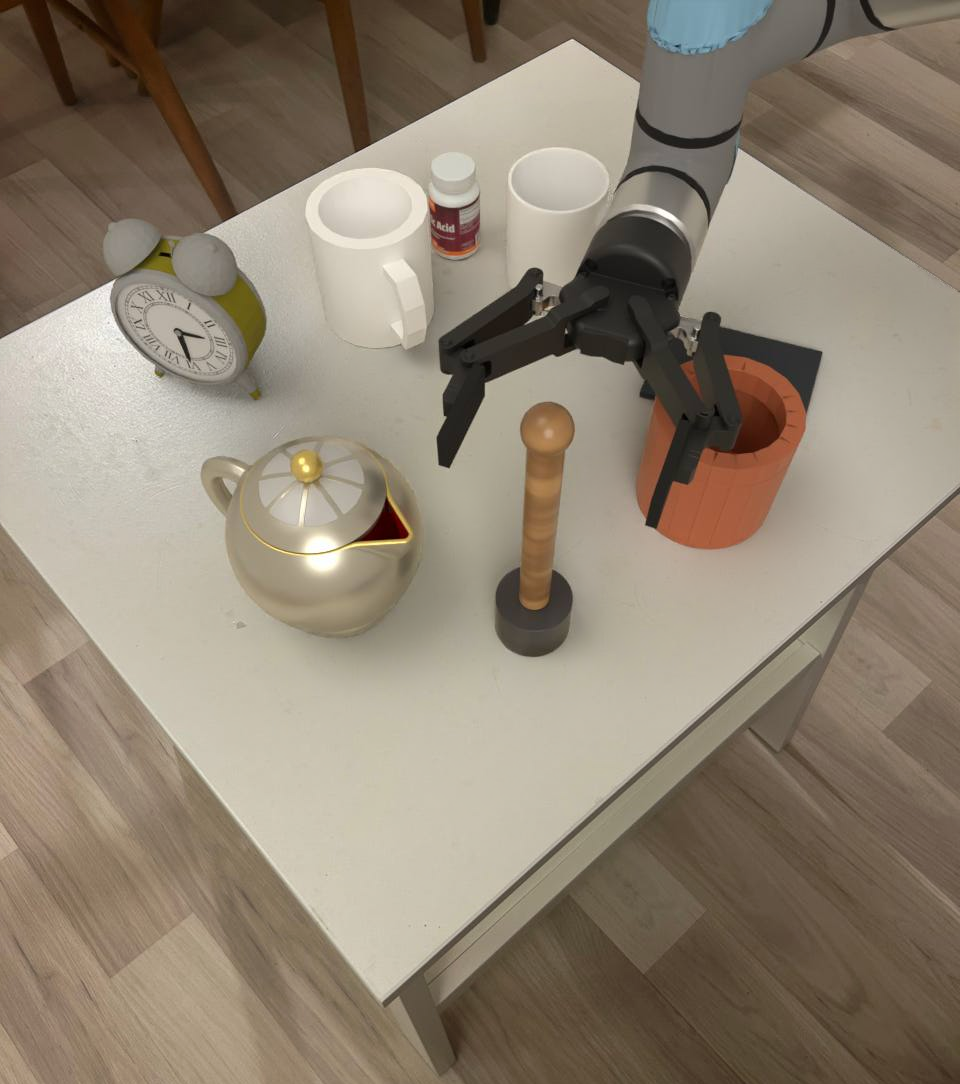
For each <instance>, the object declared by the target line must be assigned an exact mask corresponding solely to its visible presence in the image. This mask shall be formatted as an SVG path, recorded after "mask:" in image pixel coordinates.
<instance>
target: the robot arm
mask: <svg viewBox="0 0 960 1084" xmlns="http://www.w3.org/2000/svg"><path fill="white" fill-rule="evenodd" d="M959 19H960V0H649V2H648V4H647V13H646V23H647V25H646V34H645V42H644V51H643V60H642V65H641V66H642V67H641V73H640V74H641V75H640V82H639V89H638V99H637V102H636V108H635V111H634V118H633V126H632V134H631V141H630V147H629V153H628V157H627V161H626V164H625V168H624V169H623V172H622V174H621V176H620V179H619V181H618V184H617V186H616V188H615V190H614V192H613V194H612V196H611V199H610V200H609V203H607V209H606V211H605V213H604V215H603V217H602V219H601V221H600V223H599V225H598V227H597V229H596V232H595V235H594V237H593V238H592V240H591V243H590V245H589V247H588V249H587V251H586V253H585V255H584V258H583V260H582V262H581V264H580V266H579V268H578V271H577V273H576V275H575V277H574V279H573V280H572V281H571V282H569V283H567V284H566V285H564V286H563V287H561V286H558V285H555V284H552V283H549V282H546V281H543V275H544V274H543V271H542V270H541V269H539V268H530V269H528V270H527V271H526V273H525V274H524V276H523V277H522V279H521V280H520V282H519V283H518V284H517V286H516V287H514V288H513V289H510V290H508V291H507V292H505V293H504V294H502V295H501V296H499V297H498V298H496V299H495V300H494V301H492V302H491V303H489V304H488V305H486V306H485V307H483V308H481V309H480V310H479V311H477V312H475V313H474V314H473V315H471V316H469V317H468V318H467V319H465V320H463V321H462V322H461V323H459V324H458V325H457V326H455V327H454V328H452V329H451V330H449V331H448V332H445V334H442V336H440V338H438V340H437V343H438V356H439V357H438V358H439V370H440V372H441V373H442V374H444V375H446V376H450V375H451V377H450V379H449V381H448V384H447V385H446V387H445V389H444V391H443V393H442V412H443V417H445V420H444V421H443V423H442V425H441V427H440V429H439V431H438V433H437V435H436V449H437V452H436V453H437V462H438V463H437V464H438V466H439V467H443V468H447V469H450V468H451V467H452V464H453V463H454V460H455V458H456V456H457V454H458V452H459V450H460V448H461V446H462V444H463V441H464V440H465V438H466V436H467V434H468V431H469V430H470V428H471V426H472V423H473V421H474V419H475V418H476V415H477V414H478V411H479V409H480V407H481V405H482V403H483V401H484V399H485V397H486V384H487V383H490V382H491V381H494V380H497V379H498V378H500V377H503V376H506V375H508V374H510V373H512V372H515V371H517V370H519V369H522V368H524V367H526V366H527V367H528V366H529V365H531V364H534V363H536V362H538V361H540V360H543V359H545V358H547V357H549V356H552V355H553V356H554V357H555V358H559V357H562V356H564V355H566V354H569V353H571V352H573V351H576V350H579V354H580V355H584V356H587V357H594V358H603V359H604V360H605V359H606V360H608V361H609V362H611V363H614V364H618V365H622V366H624V365H625V364H626V363H631V362H632V364H633V366H634V368H635V369H636V371H637V372H638V374H639V376H640V378H641V379H642V380H643V381H644V380H648V382H649V384H650V385H651V387H652V389H653V390H654V392H655V394H656V395H657V397H658V399H659V401H660V402H661V404H662V406H663V407H664V409H665V411H666V412H667V414H668V416H669V417H670V419H671V421H672V422H673V424H674V426H675V427H676V431H675V434H674V436H673V439H672V442H671V445H670V448H669V450H668V453H667V456H666V459H665V462H664V465H663V467H662V470H661V473H660V476H659V479H658V482H657V484H656V487H655V490H654V493H653V496H652V499H651V502H650V506H649V510H648V514H647V518H645V523H644V526H646V527H648V528H652V529H654V530H656V529H657V526H658V523H659V520H660V518H661V515H662V512H663V509H664V506H665V503H666V500H667V497H668V494H669V491H670V488H671V486H672V483H673V481H675V482H678V483H682V484H685V485H688V484H689V483H690V482H691V481H692V480H693V478H694V475H695V472H696V469H697V466H698V463H699V460H700V457H701V454H702V451H703V450H704V449H705V448H706V447H709V446H717V448H719V449H720V450H723V451H729V450H731V449H732V448H733V447H734V445H735V442H736V439H737V436H738V433H739V430H740V428H741V425H742V422H743V416H742V413H741V410H740V407H739V403H738V400H737V397H736V394H735V390H734V387H733V384H732V381H731V378H730V374H729V371H728V368H727V365H726V362H725V358H724V355H723V352H722V349H721V346H720V342H719V339H718V334H719V329H720V327H721V323H722V317H721V315H720V314H719V313H718V312H716V311H708V312H705V313H703V316H702V318H701V319H695V318H688V317H684V316H681V313H680V311H679V309H680V306H681V303H682V301H683V298H684V296H685V293H686V291H687V288H688V285H689V283H690V280H691V276H692V274H693V272H694V270H695V267H696V265H697V261H698V260H699V257H700V253H701V251H702V249H703V247H704V246H703V245H704V243H705V240H706V237H707V235H708V231H709V228H710V224H711V222H712V220H713V217H714V215H715V212H716V210H717V208H718V205H719V202H720V200H721V198H722V196H723V193H724V190H725V188H726V186H727V185H728V184H729V182H730V180H731V178H732V176H733V175H732V174H733V171H734V168H735V165H736V160H737V157H738V153H739V152H738V151H739V147H740V146H739V145H740V139H741V134H740V132H741V131H740V128H741V125H742V121H743V116H744V113H745V108H746V104H747V100H748V97H749V93H750V89H751V87H752V85H753V84H754V83H755V82H756V81H758V80H761V79H763V78H765V77H768V76H769V75H772V74H774V73H776V72H778V71H781V70H782V69H785V68H787V67H789V66H791V65H794V64H795V63H797V62H801V61H802V60H805V59H808V58H809V57H810V56H812V55H814V54H816V53H817V54H818V53H819V52H821V51H823V50H825V49H828V48H830V47H833V46H835V45H838V44H839V43H843V42H846V41H849V40H852V39H856V38H863V37H868V36H873V35H878V34H884V33H889V32H893V31H897V30H901V29H906V28H911V27H912V28H913V27H919V26H925V25H929V24H930V25H931V24H934V23H935V24H936V23H940V22H945V21H952V20H959ZM549 306H554V307H553V308H551V309H550V310H549V311H548V310H547V313H546V314H545V315H544V316H542V314H543V311H546V310H545V309H546V308H547V307H549ZM541 316H542V317H541ZM533 317H539V318H537V319H535V320H532V321H530V320H531V319H532V318H533ZM683 317H684V318H683ZM529 321H530V322H529ZM675 337H676V338H679V339H681V340H682V341H683V342H684V346H685V348H686V349H687V355H689V356H694V358H693V367H694V371H695V375H696V378H697V382H698V385H699V389H700V392H701V396H702V399H703V401H702V400H701V398H700V397H699V395H698V393H697V392H696V390H695V389H694V387H693V385H692V384H691V382H690V381H689V379H688V377H687V376H686V374H685V373H684V371H683V369H682V368H681V366H680V365H679V363H678V361H677V360H676V358H675V357H674V355H673V353H672V352H671V350H670V348H669V344H668V343H670V342H672V341H673V340H674V339H675Z"/></svg>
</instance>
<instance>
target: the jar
mask: <svg viewBox="0 0 960 1084" xmlns="http://www.w3.org/2000/svg"><path fill="white" fill-rule="evenodd" d="M724 358H725V362H726V365H727V368H728V371H729V374H730V378H731V381H732V384H733V387H734V390H735V394H736V397H737V400H738V403H739V407H740V410H741V413H742V416H743V422H742V425H741V428H740V430H739V433H738V436H737V439H736V442H735V445H734V447H733V448H732V449H731V450H729V451H723V450H720V449H719V448H717V446H709V447H706V448H705V449H704V450H703V451H702V454H701V457H700V460H699V463H698V466H697V469H696V472H695V475H694V478H693V480H692V481H691V482H690V483H689V484H688V485H685V484H682V483H678V482H675V481H673V483H672V486H671V488H670V491H669V494H668V497H667V500H666V503H665V506H664V509H663V512H662V515H661V518H660V520H659V523H658V526H657V529H655V530H656V531H657V532H658V533H660V534H661V535H662V536H664V537H665V538H667V539H668V540H670V541H673V542H675V543H677V544H679V545H682V546H686V547H689V548H690V547H691V548H695V549H701V550H702V549H703V550H716V549H717V550H718V549H725V548H728V547H733V546H735V545H738V544H740V543H742V542H744V541H746V540H748V539H749V538H750V537H752V536H753V535H755V533H756V532H758V530H760V528H761V527H762V525H763V524H764V522H765V520H766V519H767V516H768V514H769V512H770V510H771V509H772V506H773V504H774V501H775V500H776V497H777V495H778V492H779V490H780V488H781V486H782V483H783V481H784V479H785V476H786V475H787V472H788V470H789V468H790V466H791V463H792V461H793V459H794V457H795V454H796V452H797V450H798V448H799V445H800V443H801V441H802V439H803V437H804V434H805V432H806V425H807V424H806V423H807V420H806V419H807V414H806V411H805V408H804V405H803V403H802V400H801V397H800V395H799V393H798V392H797V390H796V389H795V388H794V387H793V386H792V384H791V383H790V382H789V381H788V380H787V379H786V378H785V377H784V376H782V375H781V374H779V373H778V372H776V371H775V370H774V369H772V368H771V367H769V366H767V365H765V364H762V363H759V362H757V361H754V360H751V359H749V358H745V357H738V356H730V355H724ZM680 366H681V368H682V369H683V371H684V373H685V374H686V376H687V377H688V379H689V381H690V382H691V384H692V385H693V387H694V389H695V390H696V392H697V393H698V395H699V397H700V398H701V400H702V401H703V399H702V396H701V392H700V389H699V385H698V382H697V378H696V375H695V371H694V367H693V360H691V361H689V362H686V363H683V364H681V365H680ZM649 419H650V420H649V423H648V427H647V432H646V438H645V442H644V446H643V450H642V456H641V460H640V463H639V468H638V472H637V473H638V474H637V479H636V487H635V493H636V495H635V496H636V501H637V504H638V506H639V509H640V511H641V513H642V515H643V517H644V518H645V519H646V518H647V514H648V510H649V506H650V502H651V499H652V496H653V493H654V490H655V487H656V484H657V482H658V479H659V476H660V473H661V470H662V467H663V465H664V462H665V459H666V456H667V453H668V450H669V448H670V445H671V442H672V439H673V436H674V434H675V431H676V427H675V426H674V424H673V422H672V421H671V419H670V417H669V416H668V414H667V412H666V411H665V409H664V407H663V406H662V404H661V402H660V401H659V399H658V397H657V395H656V396H655V400H653V404H652V410H651V415H650V418H649Z"/></svg>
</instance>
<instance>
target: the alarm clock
mask: <svg viewBox="0 0 960 1084" xmlns="http://www.w3.org/2000/svg"><path fill="white" fill-rule="evenodd" d="M107 227H108V228H107V229H108V230H107V232H106V234H105V235H104V238H103V240H102V241H103V242H102V252H103V258H104V261H105V264H106V266H107V268H108V270H110V271H111V273H112V274H113V275H114V276H117V277H116V279H115V281H114V282H113V284H112V287H111V289H110V295H109V303H110V310H111V312H112V315H113V319H114V321H115V324H116V326H117V327H118V329H119V331H120V332H121V333H122V335H123V337H124V338H125V340H127V342H128V343H129V344H130V345H131V346H132V347H133V348H134V349H135V350H136V351H137V352H138V353H139V354H140V355H141V356H142V357H143V358H144V359H145V360H147V361H148V362H149V363H151V364H152V365H153V366H154V374H155V376H156V377H159V378H160V377H162V376H164V374H165V373H167V374H169V375H171V376H172V377H175V378H176V379H178V380H181V381H184V382H187V383H189V384H194V385H198V386H204V387H219V386H224V385H229V384H230V383H233V382H235V383H236V384H238V385H239V386H240V387H241V388H242V389H243V390H244V391H245V392H246V393H248V395H249V396H251V397H252V398H253V400H258V399H260V398H261V397H262V393H261V391H260V389H259V387H258V386H257V384H256V383H255V380H254V378H253V376H252V375H251V373H250V370H249V369H248V366H249V364H250V363H251V362H252V359H253V358H254V356H255V354H256V353H257V351H258V349H259V347H260V345H261V343H262V342H263V339H264V337H265V334H266V330H267V324H268V323H267V322H268V321H267V312H266V308H265V307H266V306H265V305H264V302H263V300H262V298H261V295H260V293H259V291H258V289H256V286H255V285H254V283H253V282H252V281H251V280H250V278H249V277H248V276H247V274H246V273H245V272H243V270H242V269H241V268H239V266H238V263H237V259H236V256H235V253H234V252H233V250H232V249H231V248H230V247H229V245H228V244H227V243H226V242H225V241H223V240H222V239H220V238H219V237H218V236H215V235H213V234H210V233H205V232H195V233H192V234H190V235H187V236H180V235H162V233H161V231H160V230H159V229H158V228H157V227H156V226H155V225H153V224H152V223H150V222H148V221H146V220H145V219H144V220H143V219H140V218H132V217H131V218H124V219H120V220H119V221H117V222H116V221H111V222H110V223H109V224H108V226H107Z"/></svg>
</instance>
